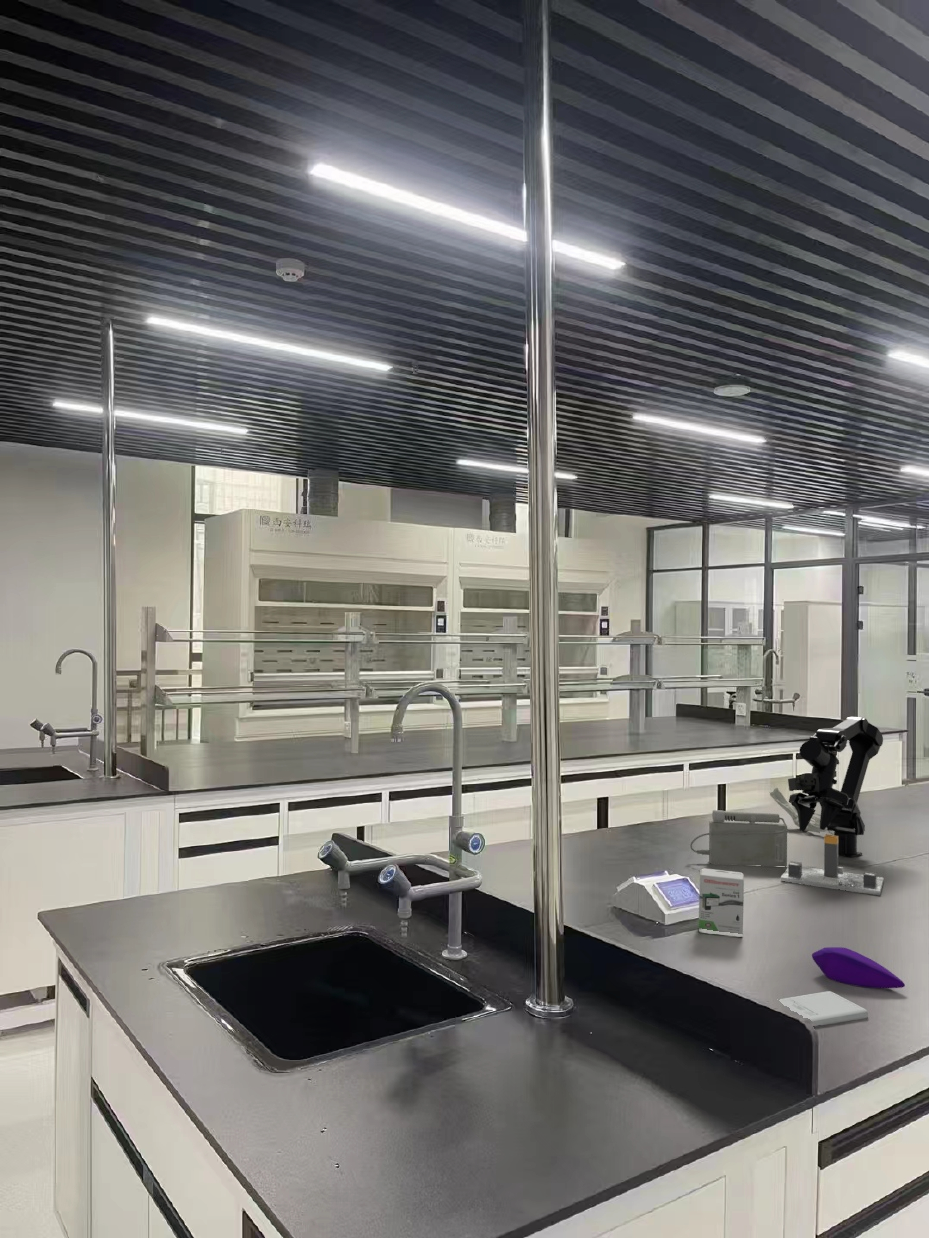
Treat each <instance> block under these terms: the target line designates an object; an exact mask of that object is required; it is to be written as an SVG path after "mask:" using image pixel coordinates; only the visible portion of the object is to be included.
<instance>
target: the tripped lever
mask: <svg viewBox="0 0 929 1238" xmlns="http://www.w3.org/2000/svg"><path fill="white" fill-rule="evenodd" d="M823 840H824V849H823V851H824V854H823V855H824V858H823V859H824V861H823V862H824V863H823V864H824V865H823V867H824V869H823V870H824V876H831V877H838V867H839V855H838V836H835V835H832V834H825V835H824V839H823Z"/></svg>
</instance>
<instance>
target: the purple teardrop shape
mask: <svg viewBox="0 0 929 1238" xmlns="http://www.w3.org/2000/svg"><path fill="white" fill-rule="evenodd" d="M811 956H812V960H813V962H814V963H815V964H816V966H817V967H818V968H819V969H820V971H821V972H822V973H823V974H824V976H826V977H827V978H828V979H830V980H832V981H834V982H838V983H842V984H846V985H850V986H856V987H862V988H869V989H872V988H875V989H897V988H900V989H901V988H904V987H906V986H905V983H904V981H903V980H902V979H900V978H899V977H898V976H897V975H895V974H894V973H892V971H890V970H889V969H888V968H886V967H885V966H883V965H881V964H880V963H878V962H876V961H874V960H873V959H871V958H869V957H867V956H865V955H863V954H861V953H859V952H857V951H854V950H852V949H849V948H847V947H842V946H841V947H840V946H839V947H838V946H837V947H836V946H835V947H831V946H830V947H829V946H827V947H823V948H821V949H818V950H816V951H815V952H813V953H812V954H811Z"/></svg>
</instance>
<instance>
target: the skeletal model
mask: <svg viewBox="0 0 929 1238" xmlns="http://www.w3.org/2000/svg"><path fill="white" fill-rule="evenodd" d="M769 795H770V797H771V798H772V799H773V800H774V801H775V803H777V805H779V807H780V808H782V809H783V810H784V811H785V812H786V813H787V814H788V815H789V816H790V818H791V820H792V821H793V823H794V825H795V826H796V827H798V828H800V827H799V819H798V813H797V810H796V809H795V807H794V806H792V805H791V803H789V801H787V800H786V798H785V796H784V795H783V794H782V792H780V790H779V788H778V787H775V788H774V789H773V790H772V791H771V792H770V791H769ZM814 815H815V816H814ZM814 815H813V816H812V818H811V820H810V822H809V824H808V826H807V828H806V829H805V831H804V832H808V831H809V832H813V833H818V834H820V833H821V832H823V833H824V832H827V833H829V834H830V835H834V833H833V832H832V831H829V830H827V827H826V828H825V829H824V830H822V829H820V818H819V817H821V813H816V812H815V813H814ZM816 816H819V817H816ZM812 819H813V820H812ZM812 822H813V823H812Z"/></svg>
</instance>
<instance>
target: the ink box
mask: <svg viewBox="0 0 929 1238" xmlns="http://www.w3.org/2000/svg"><path fill="white" fill-rule="evenodd" d="M699 871H700V872H699V890H698V891H699V892H698V893H699V896H698V899H699V901H698V928H702V929H707V930H713V931H719V932H730V933H738V934H743V935H744V906H745V905H744V902H745V901H744V900H745V899H744V898H745V896H744V895H745V893H744V892H745V888H744V887H745V886H744V885H745V876H744V875H745V874H744V873H742V872H739V871H731V870H722V869H713V868H705V867H704V868H702V869H700V870H699Z"/></svg>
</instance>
